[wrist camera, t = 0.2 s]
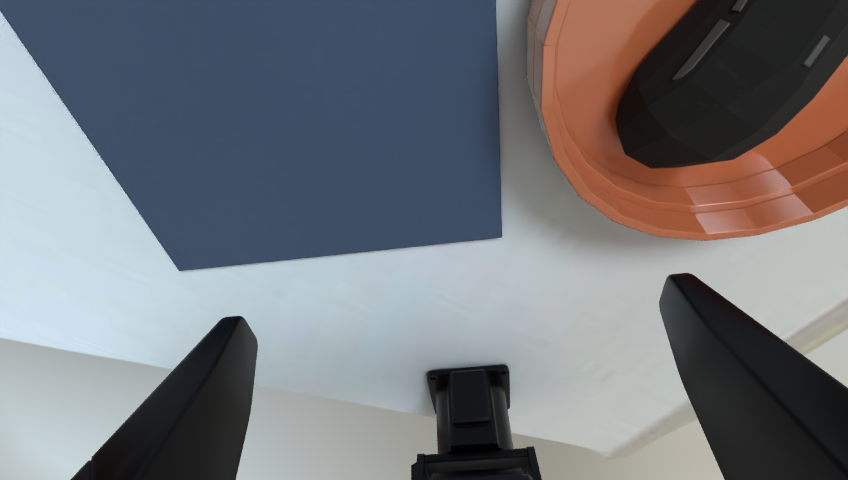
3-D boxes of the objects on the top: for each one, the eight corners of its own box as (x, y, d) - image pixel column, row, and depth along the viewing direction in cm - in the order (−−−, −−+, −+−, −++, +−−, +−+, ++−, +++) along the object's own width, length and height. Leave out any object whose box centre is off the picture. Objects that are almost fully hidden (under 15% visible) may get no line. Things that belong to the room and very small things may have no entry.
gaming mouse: (1009, -138, 17) (1137, -126, 14) (675, 175, 25) (709, 223, 22) (911, -263, 15) (1037, -280, 12) (583, 124, 23) (608, 171, 20)
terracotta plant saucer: (883, 175, 26) (937, 218, 23) (523, 214, 27) (535, 258, 25) (1254, -415, 13) (1472, -472, 10) (530, -279, 14) (555, -298, 12)
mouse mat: (501, 233, 28) (502, 237, 28) (181, 266, 30) (179, 271, 30) (484, -337, 14) (486, -340, 13) (-143, -213, 15) (-155, -213, 15)
